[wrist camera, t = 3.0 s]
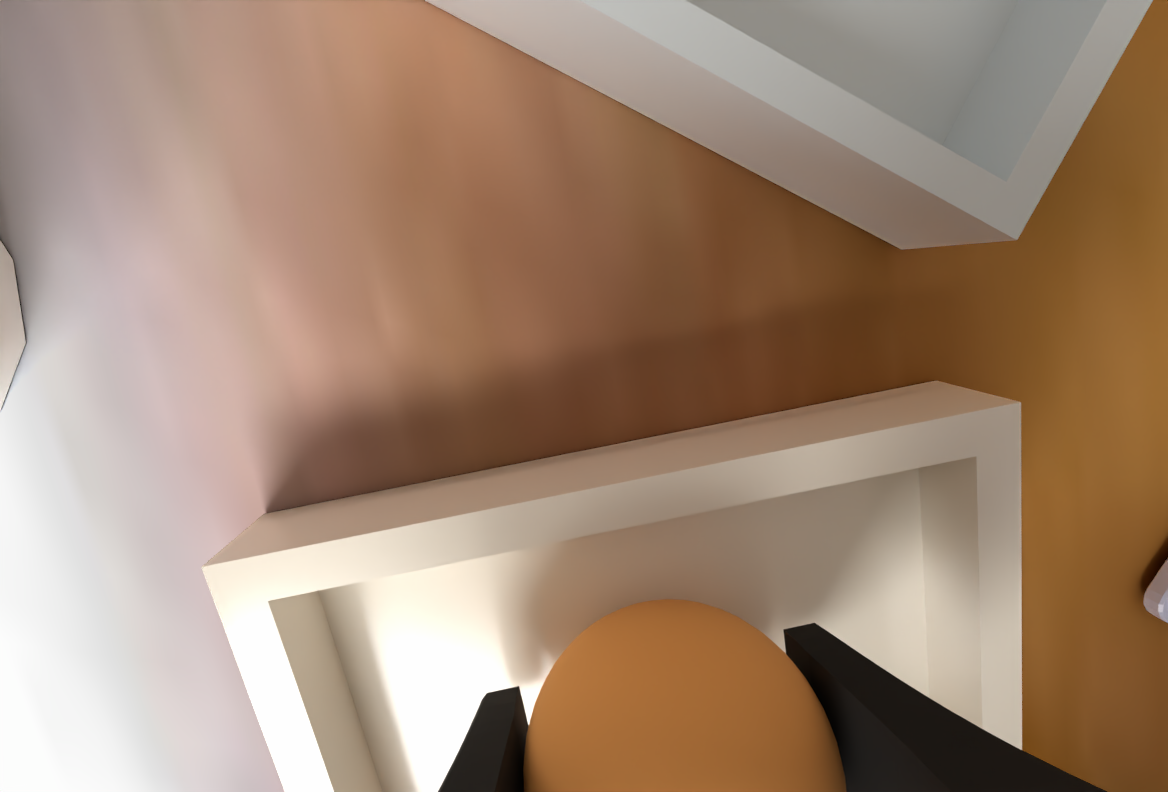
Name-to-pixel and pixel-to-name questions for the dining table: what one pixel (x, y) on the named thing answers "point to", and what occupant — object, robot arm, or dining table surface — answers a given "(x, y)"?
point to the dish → (632, 573)
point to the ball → (678, 710)
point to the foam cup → (9, 323)
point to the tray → (851, 93)
